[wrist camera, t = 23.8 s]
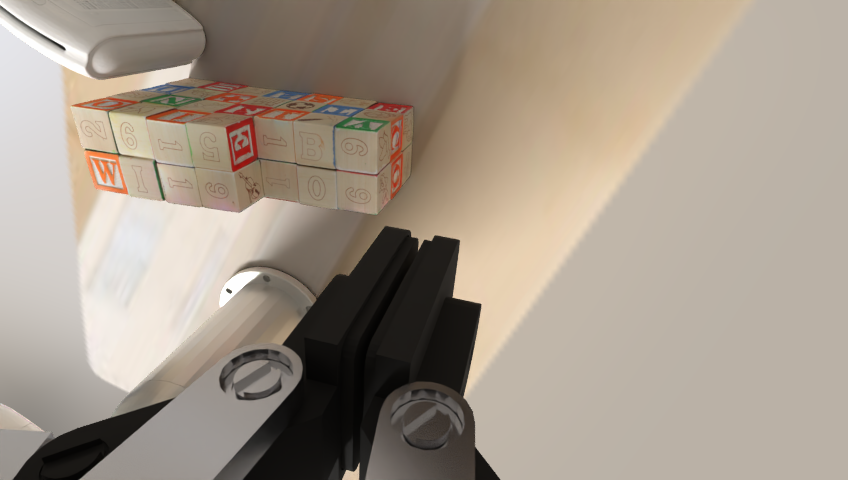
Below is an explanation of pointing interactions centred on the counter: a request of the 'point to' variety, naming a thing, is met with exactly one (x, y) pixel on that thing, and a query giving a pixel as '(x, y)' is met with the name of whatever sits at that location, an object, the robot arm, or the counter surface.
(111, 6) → the white rounded slab
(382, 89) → the counter surface
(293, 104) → the stack of blocks
